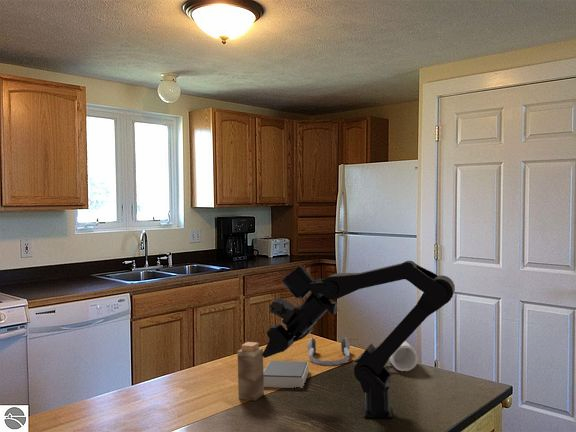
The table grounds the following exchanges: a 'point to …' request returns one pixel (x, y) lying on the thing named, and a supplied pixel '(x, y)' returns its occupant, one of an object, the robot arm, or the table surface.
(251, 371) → the tan tall cylinder
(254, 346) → the cargo
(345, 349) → the headphones
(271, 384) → the dock
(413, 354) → the mug
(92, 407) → the table surface
